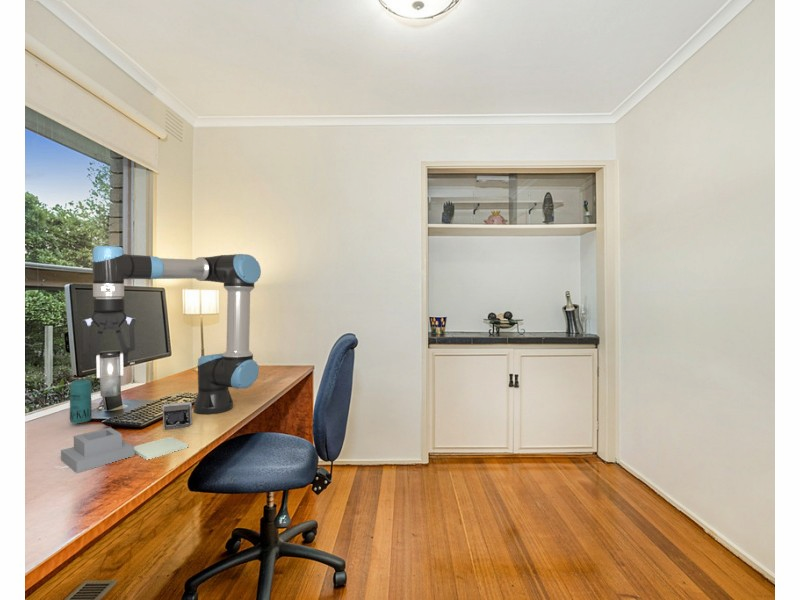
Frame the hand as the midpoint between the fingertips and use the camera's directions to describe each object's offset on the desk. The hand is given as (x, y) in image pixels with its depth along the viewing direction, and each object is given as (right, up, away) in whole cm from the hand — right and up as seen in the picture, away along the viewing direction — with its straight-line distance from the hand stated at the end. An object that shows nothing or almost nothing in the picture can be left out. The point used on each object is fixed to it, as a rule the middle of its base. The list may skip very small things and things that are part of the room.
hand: (110, 375), depth 121 cm
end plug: (0, -6, 0) cm, 6 cm away
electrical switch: (+6, -24, +26) cm, 36 cm away
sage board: (+11, -24, +6) cm, 27 cm away
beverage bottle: (-32, -24, +29) cm, 49 cm away
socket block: (-3, -24, -1) cm, 24 cm away
